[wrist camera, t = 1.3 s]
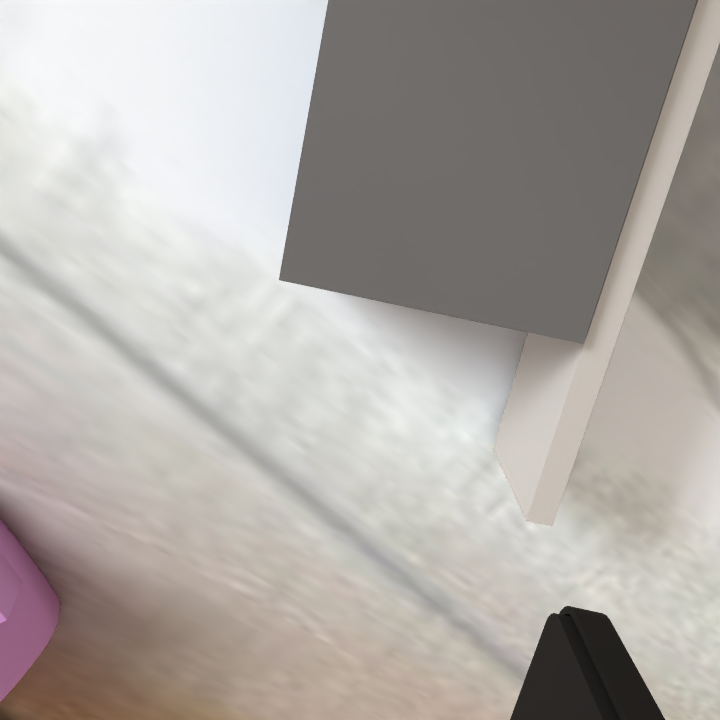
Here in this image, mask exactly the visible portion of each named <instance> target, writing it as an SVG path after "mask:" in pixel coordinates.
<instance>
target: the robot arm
mask: <svg viewBox="0 0 720 720" xmlns="http://www.w3.org/2000/svg"><path fill="white" fill-rule="evenodd" d="M510 720H665V718H664V717H663V715H662V713H661V711H660V709H659V708H658V706H657V704H656V702H655V700H654V699H653V697H652V695H651V693H650V691H649V690H648V688H647V686H646V684H645V682H644V681H643V679H642V677H641V675H640V673H639V672H638V670H637V668H636V666H635V664H634V663H633V661H632V659H631V657H630V655H629V653H628V652H627V650H626V648H625V646H624V644H623V643H622V641H621V639H620V637H619V635H618V634H617V632H616V630H615V628H614V626H613V625H612V623H611V621H610V619H609V618H608V617H607V616H606V615H605V614H602V613H598V612H594V611H589V610H584V609H580V608H575V607H571V606H566V607H564V608H563V609H562V610H561V612H560V614H555V613H553V614H551V615H550V616H549V617H548V619H547V621H546V623H545V626H544V629H543V632H542V634H541V637H540V640H539V643H538V645H537V648H536V651H535V653H534V656H533V659H532V662H531V664H530V667H529V670H528V673H527V675H526V678H525V681H524V683H523V686H522V689H521V692H520V694H519V697H518V700H517V703H516V705H515V708H514V711H513V713H512V716H511V719H510Z"/></svg>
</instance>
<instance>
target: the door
mask: <svg viewBox="0 0 720 720" xmlns="http://www.w3.org/2000/svg"><path fill="white" fill-rule="evenodd" d="M719 43H720V0H697V2H696V5H695V8H694V11H693V14H692V17H691V20H690V23H689V26H688V29H687V32H686V35H685V38H684V41H683V44H682V47H681V50H680V53H679V56H678V59H677V63H676V66H675V69H674V72H673V75H672V78H671V81H670V84H669V87H668V90H667V93H666V96H665V99H664V102H663V105H662V108H661V111H660V114H659V117H658V120H657V123H656V126H655V129H654V132H653V135H652V138H651V141H650V144H649V147H648V150H647V153H646V156H645V159H644V162H643V165H642V168H641V171H640V174H639V177H638V180H637V183H636V187H635V190H634V193H633V196H632V199H631V202H630V205H629V208H628V211H627V214H626V217H625V220H624V223H623V226H622V229H621V232H620V235H619V238H618V241H617V244H616V247H615V250H614V253H613V256H612V259H611V262H610V265H609V268H608V271H607V274H606V277H605V280H604V283H603V286H602V289H601V292H600V295H599V298H598V301H597V304H596V307H595V310H594V314H593V317H592V320H591V323H590V326H589V329H588V332H587V335H586V338H585V341H584V344H581V343H576V342H572V341H567V340H562V339H557V338H553V337H548V336H543V335H538V334H534V333H529V332H528V334H527V337H526V341H525V344H524V347H523V351H522V354H521V357H520V360H519V364H518V367H517V370H516V374H515V377H514V380H513V384H512V387H511V390H510V394H509V397H508V400H507V404H506V407H505V410H504V413H503V417H502V420H501V423H500V427H499V430H498V433H497V437H496V440H495V443H494V447H493V451H494V453H495V455H496V457H497V459H498V461H499V464H500V466H501V468H502V470H503V472H504V474H505V477H506V479H507V481H508V483H509V485H510V488H511V490H512V492H513V494H514V496H515V498H516V501H517V503H518V505H519V507H520V509H521V512H522V514H523V516H524V518H525V520H526V521H529V522H534V523H540V524H545V525H550V526H553V523H554V520H555V517H556V514H557V511H558V508H559V505H560V502H561V500H562V497H563V494H564V491H565V488H566V485H567V482H568V479H569V476H570V474H571V471H572V468H573V465H574V462H575V459H576V456H577V453H578V450H579V448H580V445H581V442H582V439H583V436H584V433H585V430H586V427H587V424H588V422H589V419H590V416H591V413H592V410H593V407H594V404H595V401H596V398H597V396H598V393H599V390H600V387H601V384H602V381H603V378H604V375H605V373H606V370H607V367H608V364H609V361H610V358H611V355H612V352H613V349H614V347H615V344H616V341H617V338H618V335H619V332H620V329H621V326H622V323H623V321H624V318H625V315H626V312H627V309H628V306H629V303H630V300H631V297H632V295H633V292H634V289H635V286H636V283H637V280H638V277H639V274H640V271H641V269H642V266H643V263H644V260H645V257H646V254H647V251H648V248H649V245H650V243H651V240H652V237H653V234H654V231H655V228H656V225H657V222H658V219H659V217H660V214H661V211H662V208H663V205H664V202H665V199H666V196H667V193H668V191H669V188H670V185H671V182H672V179H673V176H674V173H675V170H676V167H677V165H678V162H679V159H680V156H681V153H682V150H683V147H684V144H685V141H686V139H687V136H688V133H689V130H690V127H691V124H692V121H693V118H694V115H695V113H696V110H697V107H698V104H699V101H700V98H701V95H702V92H703V89H704V87H705V84H706V81H707V78H708V75H709V72H710V69H711V66H712V63H713V61H714V58H715V55H716V52H717V49H718V46H719Z"/></svg>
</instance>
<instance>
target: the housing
mask: <svg viewBox="0 0 720 720" xmlns="http://www.w3.org/2000/svg"><path fill="white" fill-rule="evenodd" d="M696 2H697V0H328V6H327V11H326V17H325V23H324V28H323V34H322V40H321V45H320V51H319V57H318V62H317V68H316V74H315V79H314V85H313V90H312V96H311V102H310V107H309V113H308V119H307V124H306V130H305V136H304V141H303V147H302V153H301V158H300V164H299V170H298V175H297V181H296V186H295V192H294V198H293V203H292V209H291V215H290V220H289V226H288V232H287V237H286V243H285V249H284V254H283V260H282V266H281V271H280V277H279V280H281V281H286V282H291V283H296V284H300V285H305V286H310V287H315V288H320V289H324V290H329V291H334V292H339V293H343V294H348V295H353V296H358V297H362V298H367V299H372V300H377V301H381V302H386V303H391V304H396V305H400V306H405V307H410V308H415V309H419V310H424V311H429V312H434V313H438V314H443V315H448V316H453V317H457V318H462V319H467V320H472V321H476V322H481V323H486V324H491V325H496V326H500V327H505V328H510V329H515V330H519V331H524V332H529V333H534V334H538V335H543V336H548V337H553V338H557V339H562V340H567V341H572V342H576V343H581V344H584V341H585V338H586V335H587V332H588V329H589V326H590V323H591V320H592V317H593V314H594V310H595V307H596V304H597V301H598V298H599V295H600V292H601V289H602V286H603V283H604V280H605V277H606V274H607V271H608V268H609V265H610V262H611V259H612V256H613V253H614V250H615V247H616V244H617V241H618V238H619V235H620V232H621V229H622V226H623V223H624V220H625V217H626V214H627V211H628V208H629V205H630V202H631V199H632V196H633V193H634V190H635V187H636V183H637V180H638V177H639V174H640V171H641V168H642V165H643V162H644V159H645V156H646V153H647V150H648V147H649V144H650V141H651V138H652V135H653V132H654V129H655V126H656V123H657V120H658V117H659V114H660V111H661V108H662V105H663V102H664V99H665V96H666V93H667V90H668V87H669V84H670V81H671V78H672V75H673V72H674V69H675V66H676V63H677V59H678V56H679V53H680V50H681V47H682V44H683V41H684V38H685V35H686V32H687V29H688V26H689V23H690V20H691V17H692V14H693V11H694V8H695V5H696Z"/></svg>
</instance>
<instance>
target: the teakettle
mask: <svg viewBox="0 0 720 720" xmlns="http://www.w3.org/2000/svg"><path fill="white" fill-rule="evenodd" d="M60 604H61V602H60V600H59V598H58V596H57V594H56V592H55V591H54V589H53V588H52V586H51V585H50V583H49V582H48V580H47V579H46V577H45V576H44V575H43V573H42V572H41V571H40V569H39V568H38V566H37V565H36V564H35V562H34V561H33V560H32V558H31V557H30V555H29V554H28V553H27V551H26V550H25V549H24V547H23V546H22V545H21V543H20V542H19V541H18V540H17V538H16V537H15V536H14V534H13V533H12V532H11V531H10V529H9V528H8V527H7V526H6V524H5V523H4V522H3V521H2V519H1V518H0V702H1V701H2V700H3V699H4V698H5V697H6V695H7V694H8V693H9V692H10V691H11V690H12V689H13V688H14V686H15V685H16V684H17V683H18V682H19V681H20V679H21V678H22V677H23V676H24V675H25V673H26V672H27V671H28V670H29V668H30V667H31V666H32V665H33V663H34V662H35V661H36V659H37V658H38V657H39V655H40V654H41V653H42V651H43V650H44V648H45V647H46V645H47V644H48V642H49V641H50V639H51V637H52V635H53V633H54V630H55V628H56V625H57V621H58V617H59V613H60Z"/></svg>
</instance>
